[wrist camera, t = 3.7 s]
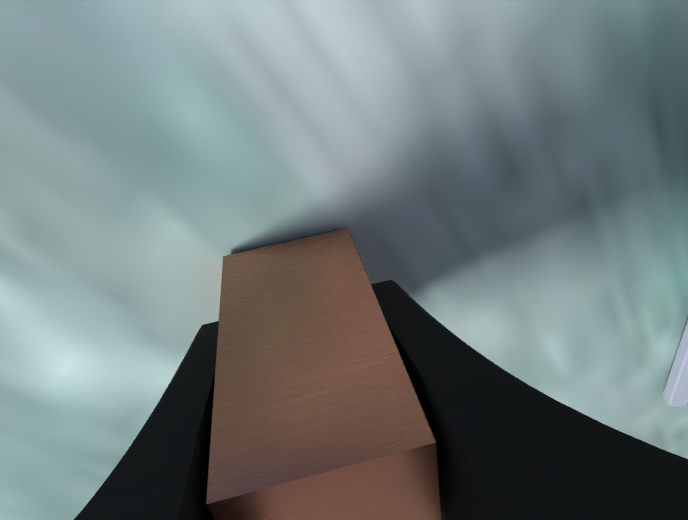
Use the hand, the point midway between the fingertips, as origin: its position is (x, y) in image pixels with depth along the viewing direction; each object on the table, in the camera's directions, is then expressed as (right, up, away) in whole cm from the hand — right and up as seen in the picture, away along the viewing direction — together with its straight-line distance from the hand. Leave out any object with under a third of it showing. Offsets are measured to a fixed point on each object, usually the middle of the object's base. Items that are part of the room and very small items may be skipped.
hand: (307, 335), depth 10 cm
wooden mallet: (+1, -5, +5) cm, 7 cm away
